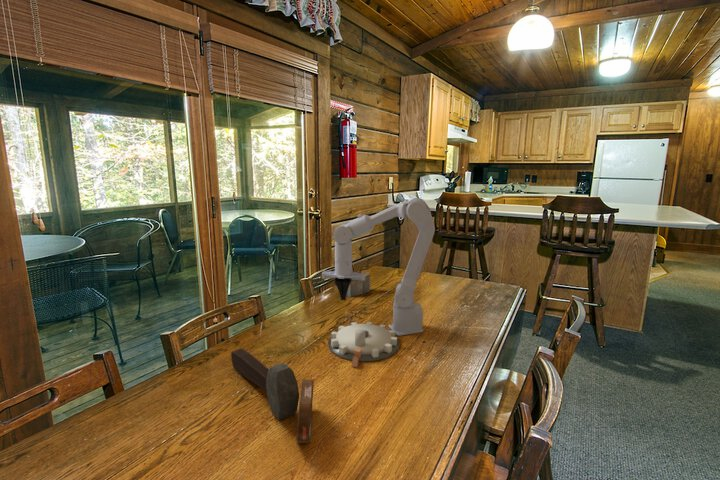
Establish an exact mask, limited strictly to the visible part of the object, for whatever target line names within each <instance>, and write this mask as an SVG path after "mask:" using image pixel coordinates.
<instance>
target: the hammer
mask: <svg viewBox="0 0 720 480" xmlns="http://www.w3.org/2000/svg"><path fill="white" fill-rule="evenodd" d="M230 356H231V363H232V368H233V369H234V370H235V371H236V372H237V373H239V374H240V375H241V376H242V377H244V378H245V379H246V380H248V381H250V382H251V383H253V384H254V385H256V386H258V387H259V388H260V389H261V390H263V391H265V392H266V397H267V401H268V404H269V407H270V411H271V413H272V415H273V416H274V417H275V418H277V420H278V421H281V420H284V419H286V418H288V417H290V416H293V415H294V414H296V412H297V411H298V409H299V401H300V393H299V392H300V391H299V385H298V384H299V383H298V380H297V378H296V374H295V372H294V371H293V369H292V368H291V367H290V366H289V365H287V364H286V363H283V362H282V363H279V364H276V365H273V366H270V367H269V368H268V367H267V366H265V364H263V363H262V362H261V361H260V360H259V359H257V358H256V357H255V356H254V355H253V354H251V353H250V352H248V351H246V350H245V349H243V348H239V349H236V350H233V351H231V353H230Z"/></svg>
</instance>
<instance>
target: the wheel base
mask: <svg viewBox="0 0 720 480" xmlns="http://www.w3.org/2000/svg"><path fill="white" fill-rule="evenodd" d="M395 337H397V335H395ZM327 341H328V342H327V346H328V349H329V351H330V352H331V353H332V354H333V355H335V356H337V357H338V358H341V359H343V360H345V361H349V362H350V361H351V367H352V368H358V367H359V364H360V363H370V362H371V363H372V362H377V361H378V362H379V361H383V360H385V359H388V358H391V357H393V356H394V355H395V354H397V352H398V351H399V350H400V349H399V348H400V341H399V339H398V337H397V345H396V346H393V345H392V352H390V353H387V352H381V353H379V354H378V357H375V358H373V357H372V355H361V357H358V356H355V354H350V353H345V354H340V353H339V347H334V348H332V346H331V336H330V337H329V339H328V340H327Z"/></svg>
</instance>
